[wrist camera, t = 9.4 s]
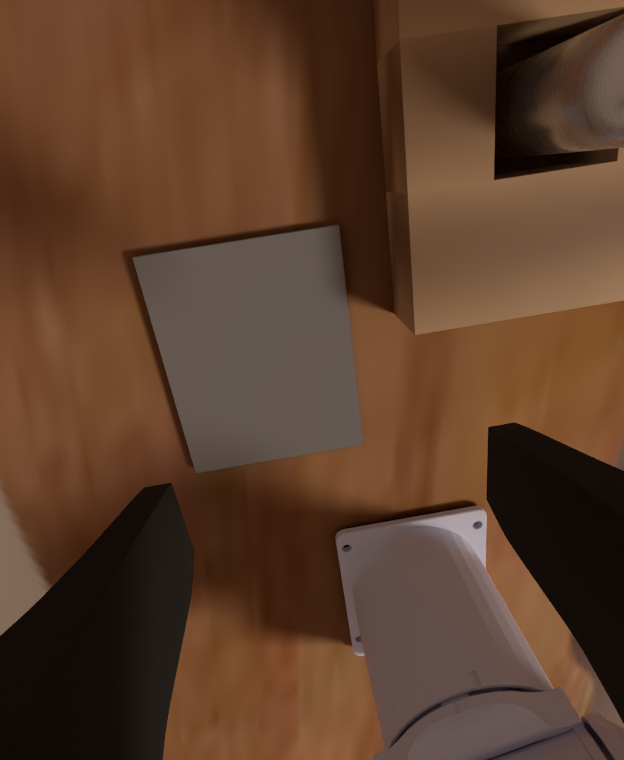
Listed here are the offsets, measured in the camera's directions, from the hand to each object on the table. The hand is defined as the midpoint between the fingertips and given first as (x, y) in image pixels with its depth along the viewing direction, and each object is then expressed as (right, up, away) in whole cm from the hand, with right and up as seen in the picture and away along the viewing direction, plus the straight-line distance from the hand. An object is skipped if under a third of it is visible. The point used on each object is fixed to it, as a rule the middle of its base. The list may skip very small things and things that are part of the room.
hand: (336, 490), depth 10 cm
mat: (-3, +3, +10) cm, 11 cm away
